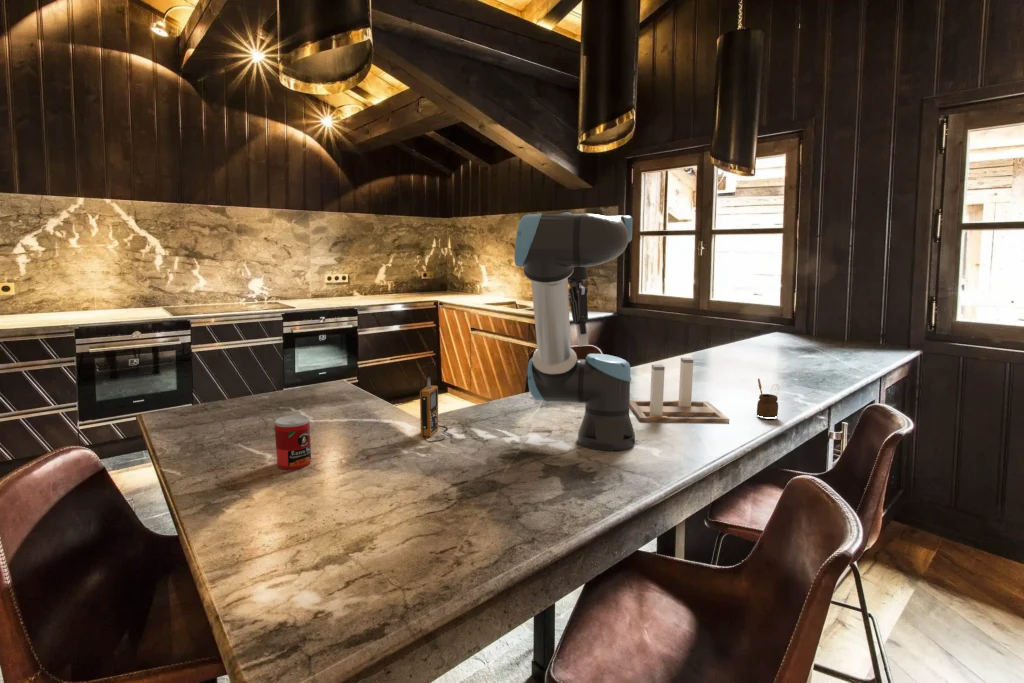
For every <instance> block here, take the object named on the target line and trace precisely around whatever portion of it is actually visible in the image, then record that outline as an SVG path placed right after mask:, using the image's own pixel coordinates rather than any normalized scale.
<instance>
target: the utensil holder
mask: <svg viewBox="0 0 1024 683" xmlns="http://www.w3.org/2000/svg"><path fill="white" fill-rule="evenodd" d="M757 384H758V387H759V390H760V394H759V395H758V401H757V405H756V406H757V407H756V416H757V415H759V416H763V417H775V416H777V415H779V402H778V395H779V392H780V385H779V384H777V383H776V387H778V389H777V388H776V389H777V391H776V389H774V390H773V388H775V383H774V384H773V385H772V386H771V388H770V391H769V392H773V393H763V390H762V388H763V387H762V382H761V379H760V378H757ZM777 417H778V416H777Z"/></svg>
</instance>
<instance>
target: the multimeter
mask: <svg viewBox="0 0 1024 683" xmlns="http://www.w3.org/2000/svg"><path fill="white" fill-rule="evenodd" d="M429 364H431V365H432V366H433V374H435V365H434V362H429V361H428V362H427V366H425V365H423V366H422V367H421V369H420V383H419V384H422V373H423V372H422V370H423V368H425V369H426V373H427V383H426V387H424V388H422V385H420V391H419V408H420V409H419V412H420V414H419V415H420V436H421V437H423V439H424V441H425V442H428V443H433V442H439V441H442V440H445V439H447V438H449V437H454V438H457V436H455V435H454V434H452V433H450V432H447V430H448V427H447V426H444V425H442V426H443V427H442V428H446V429H444V430H443V432H444V433H445V434H447V435H449V436H446V437H445V436H443V437H440V438H437V439H434V440H427V439H426V438H431V437H432V435H434V434H435V433H436V432H438V431H439V427H441V425H439V387H438V385H436V382H435V380H433V385H431V377H430V376H431V372H430V371H431V370H430V366H429ZM425 436H426V437H425Z"/></svg>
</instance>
